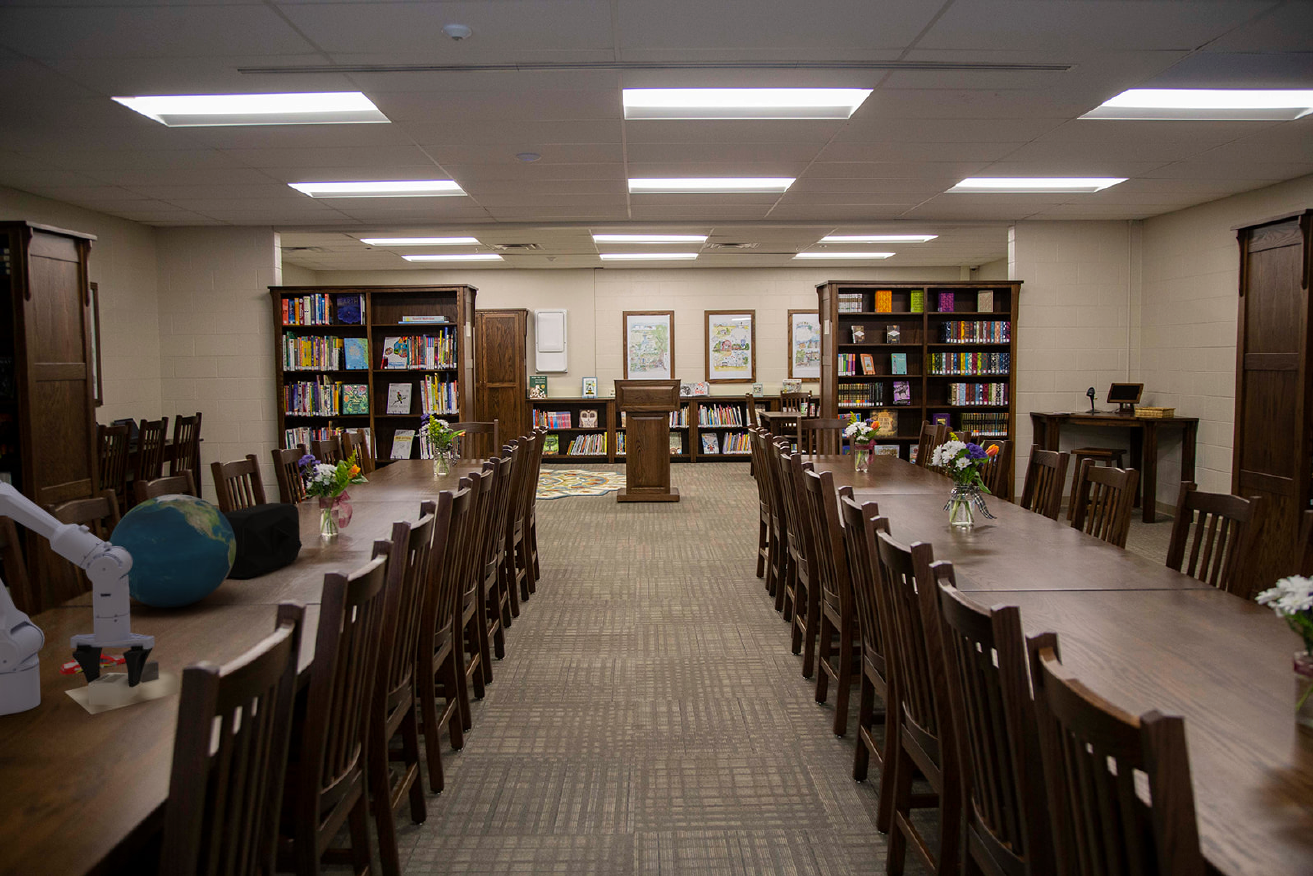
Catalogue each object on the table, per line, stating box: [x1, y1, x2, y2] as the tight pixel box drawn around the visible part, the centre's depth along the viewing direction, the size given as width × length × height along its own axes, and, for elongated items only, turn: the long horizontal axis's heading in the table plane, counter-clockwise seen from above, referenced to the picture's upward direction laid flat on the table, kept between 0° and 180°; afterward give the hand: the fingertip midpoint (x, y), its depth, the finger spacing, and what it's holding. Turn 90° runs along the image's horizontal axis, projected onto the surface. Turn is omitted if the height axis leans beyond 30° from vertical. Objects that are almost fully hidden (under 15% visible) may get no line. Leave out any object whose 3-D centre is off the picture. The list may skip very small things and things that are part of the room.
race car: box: [59, 653, 126, 676], centre depth 176 cm, size 13×5×4 cm, turn 135°
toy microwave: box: [87, 672, 138, 705], centre depth 158 cm, size 6×6×4 cm
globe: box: [108, 493, 236, 609], centre depth 225 cm, size 30×30×30 cm
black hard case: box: [222, 502, 303, 579], centre depth 267 cm, size 30×12×20 cm, turn 171°
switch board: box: [64, 660, 182, 715], centre depth 163 cm, size 18×16×5 cm
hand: (114, 685), depth 158 cm, fingers open, 7 cm apart
